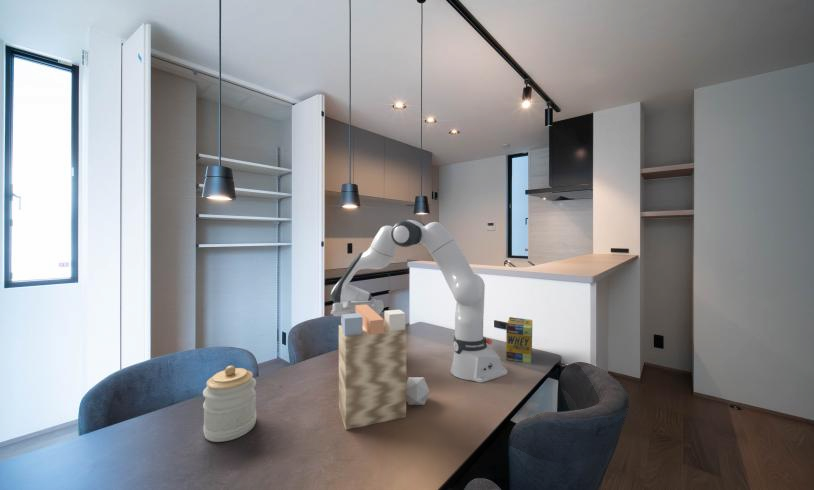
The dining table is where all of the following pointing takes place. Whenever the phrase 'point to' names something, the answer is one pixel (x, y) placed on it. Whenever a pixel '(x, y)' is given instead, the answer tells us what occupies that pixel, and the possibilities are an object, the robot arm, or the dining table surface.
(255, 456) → the dining table surface
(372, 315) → the bar terracotta
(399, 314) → the cube cream
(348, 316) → the cube slate
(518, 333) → the protein box
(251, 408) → the jar
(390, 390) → the oak stand
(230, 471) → the dining table surface
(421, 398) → the die
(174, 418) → the dining table surface
